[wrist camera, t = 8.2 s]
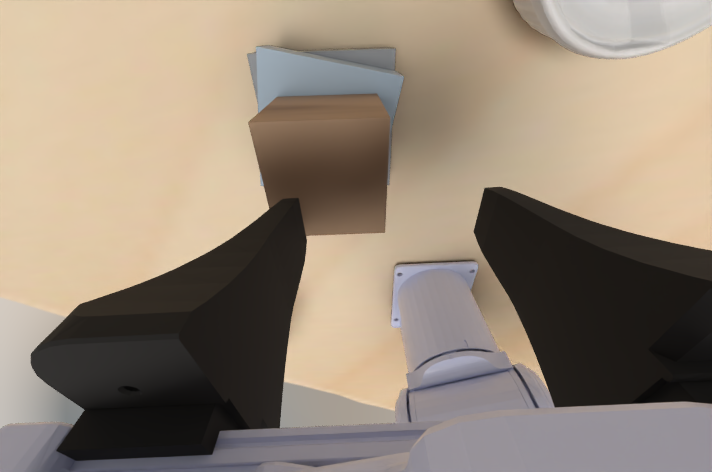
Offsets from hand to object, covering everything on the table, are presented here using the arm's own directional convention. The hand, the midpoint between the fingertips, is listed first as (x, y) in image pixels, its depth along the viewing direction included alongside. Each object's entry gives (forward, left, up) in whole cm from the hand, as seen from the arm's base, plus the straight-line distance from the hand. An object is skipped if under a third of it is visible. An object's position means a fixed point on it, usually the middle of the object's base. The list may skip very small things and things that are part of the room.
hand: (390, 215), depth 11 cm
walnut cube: (+1, +3, -6) cm, 7 cm away
